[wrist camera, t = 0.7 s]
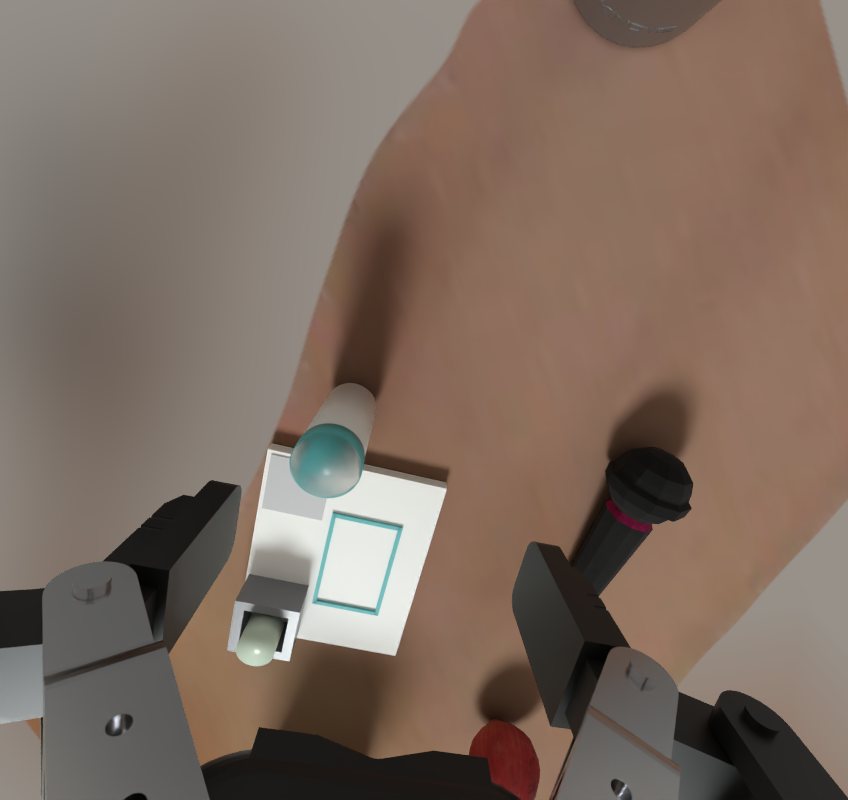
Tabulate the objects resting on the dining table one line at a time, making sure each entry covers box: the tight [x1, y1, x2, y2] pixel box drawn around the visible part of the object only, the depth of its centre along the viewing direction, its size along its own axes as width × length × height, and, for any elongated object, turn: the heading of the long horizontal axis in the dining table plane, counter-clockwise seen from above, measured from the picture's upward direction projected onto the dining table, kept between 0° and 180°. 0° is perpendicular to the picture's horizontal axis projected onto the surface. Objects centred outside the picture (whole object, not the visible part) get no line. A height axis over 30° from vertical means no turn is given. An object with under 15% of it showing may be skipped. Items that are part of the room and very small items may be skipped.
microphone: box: [571, 447, 693, 595], centre depth 34 cm, size 6×6×20 cm
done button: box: [236, 613, 284, 666], centre depth 31 cm, size 3×3×2 cm
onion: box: [469, 719, 540, 800], centre depth 37 cm, size 6×6×8 cm
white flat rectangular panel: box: [246, 443, 447, 656], centre depth 34 cm, size 16×13×1 cm
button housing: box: [227, 574, 309, 661], centre depth 33 cm, size 5×5×3 cm
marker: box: [289, 383, 376, 498], centre depth 26 cm, size 4×4×10 cm
